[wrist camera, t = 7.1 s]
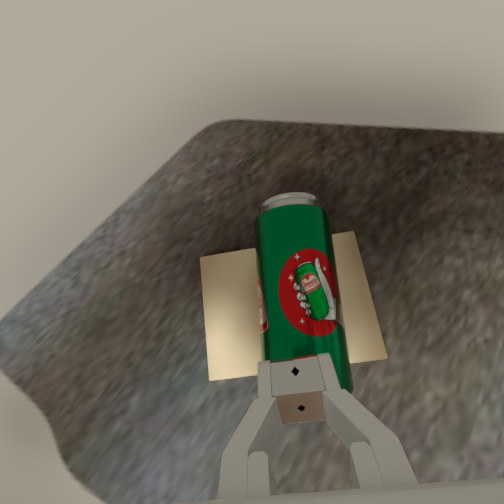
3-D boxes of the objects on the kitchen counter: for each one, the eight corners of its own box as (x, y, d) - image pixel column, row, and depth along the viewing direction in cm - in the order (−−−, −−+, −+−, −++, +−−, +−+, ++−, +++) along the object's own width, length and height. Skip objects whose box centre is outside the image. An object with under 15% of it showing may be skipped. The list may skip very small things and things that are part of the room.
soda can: (281, 387, 18) (269, 225, 22) (358, 391, 16) (332, 211, 20) (248, 408, 14) (240, 201, 17) (349, 417, 12) (318, 180, 15)
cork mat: (352, 233, 20) (353, 230, 20) (385, 357, 18) (388, 358, 17) (202, 259, 22) (199, 257, 21) (211, 379, 19) (209, 380, 18)
